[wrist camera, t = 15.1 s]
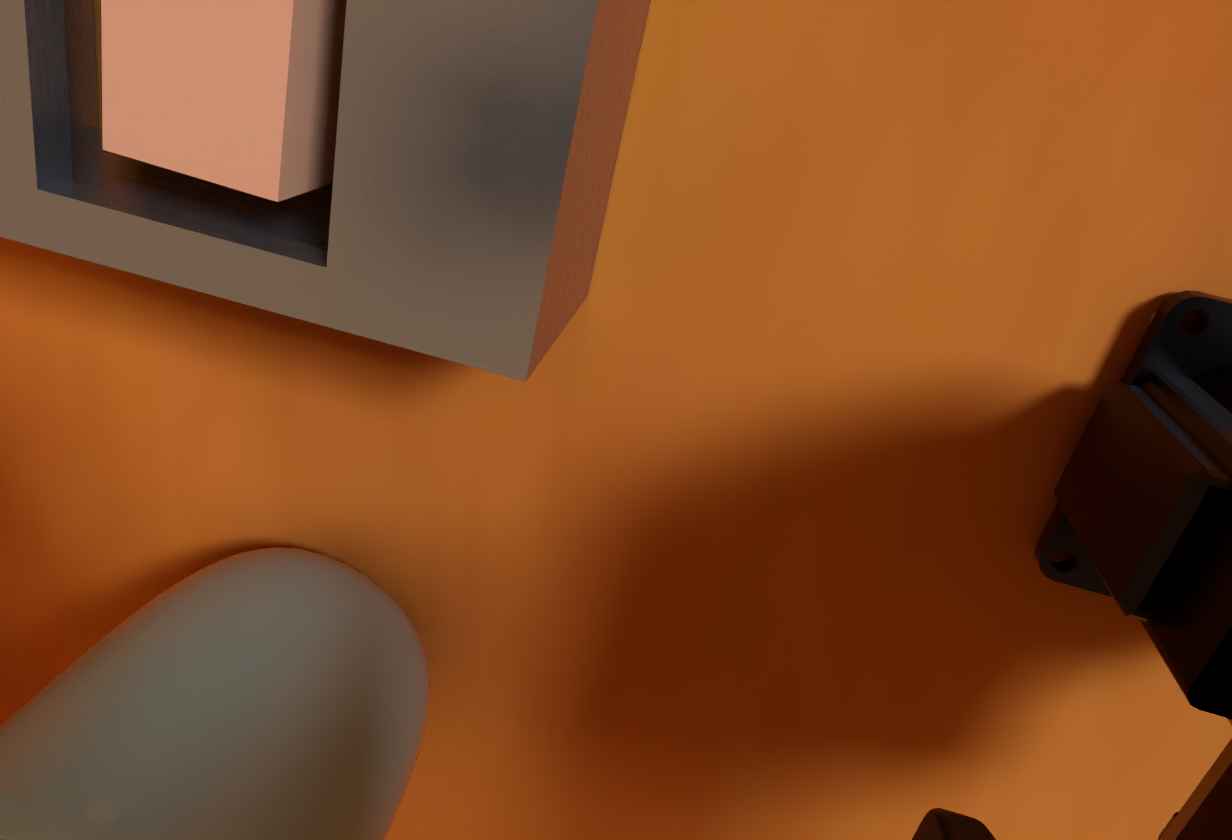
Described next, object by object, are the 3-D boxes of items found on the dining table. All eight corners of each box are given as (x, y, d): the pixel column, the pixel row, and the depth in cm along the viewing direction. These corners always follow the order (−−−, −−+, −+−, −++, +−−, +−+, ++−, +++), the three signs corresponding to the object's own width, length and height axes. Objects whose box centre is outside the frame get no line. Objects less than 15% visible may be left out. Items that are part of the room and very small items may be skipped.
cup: (522, 626, 23) (350, 1021, 14) (379, 783, 26) (165, 1185, 17) (268, 445, 22) (-95, 742, 13) (153, 632, 25) (-201, 972, 16)
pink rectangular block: (382, -132, 14) (307, -162, 12) (348, 178, 16) (277, 202, 14) (208, -180, 14) (99, -220, 12) (196, 132, 16) (103, 149, 14)
